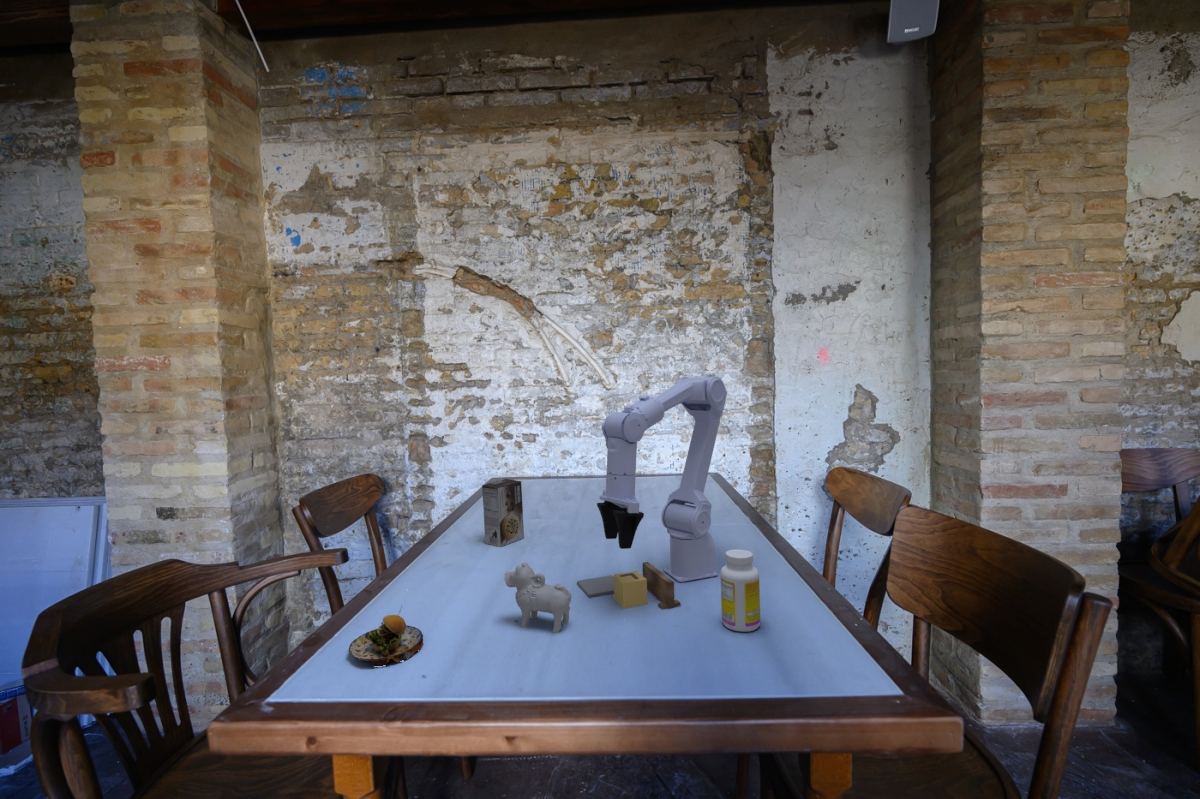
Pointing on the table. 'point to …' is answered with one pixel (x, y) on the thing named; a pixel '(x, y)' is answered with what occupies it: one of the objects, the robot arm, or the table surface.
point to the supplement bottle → (740, 592)
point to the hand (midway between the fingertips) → (617, 543)
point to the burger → (387, 642)
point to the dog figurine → (538, 596)
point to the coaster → (597, 586)
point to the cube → (630, 589)
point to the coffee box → (503, 512)
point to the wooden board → (660, 586)
